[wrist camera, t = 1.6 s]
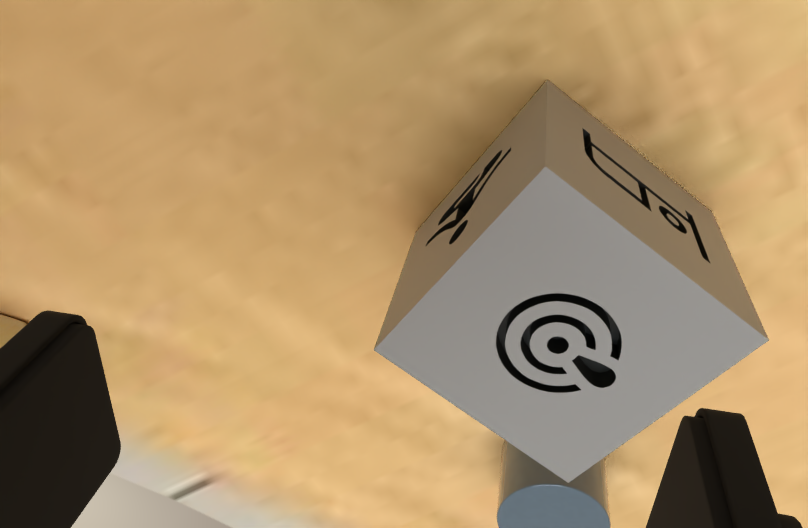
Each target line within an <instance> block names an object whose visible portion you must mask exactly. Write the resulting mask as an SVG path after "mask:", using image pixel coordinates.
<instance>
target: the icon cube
mask: <svg viewBox="0 0 808 528" xmlns="http://www.w3.org/2000/svg"><path fill="white" fill-rule="evenodd" d="M767 341H769V339H768V337H767V335H766V332H765V330H764V328H763V326H762V323H761V321H760V319H759V317H758V314H757V312H756V310H755V308H754V305H753V303H752V301H751V299H750V296H749V294H748V292H747V290H746V287H745V285H744V283H743V281H742V278H741V276H740V274H739V272H738V269H737V267H736V265H735V262H734V260H733V258H732V256H731V253H730V251H729V249H728V247H727V244H726V242H725V240H724V238H723V235H722V233H721V231H720V229H719V226H718V224H717V222H716V220H715V217H714V215H713V213H712V212H711V211H710V210H709V209H707V208H706V207H705V206H704V205H702V204H701V203H700V202H699V201H697V200H696V199H695V198H694V197H692V196H691V195H690V194H689V193H687V192H686V191H685V190H684V189H683V188H681V187H680V186H679V185H678V184H676V183H675V182H674V181H673V180H671V179H670V178H669V177H668V176H666V175H665V174H664V173H663V172H661V171H660V170H659V169H658V168H656V167H655V166H654V165H653V164H652V163H650V162H649V161H648V160H647V159H645V158H644V157H643V156H642V155H640V154H639V153H638V152H637V151H635V150H634V149H633V148H632V147H630V146H629V145H628V144H627V143H625V142H624V141H623V140H622V139H621V138H619V137H618V136H617V135H616V134H614V133H613V132H612V131H611V130H609V129H608V128H607V127H606V126H604V125H603V124H602V123H601V122H599V121H598V120H597V119H596V118H594V117H593V116H592V115H591V114H589V113H588V112H587V111H586V110H585V109H583V108H582V107H581V106H580V105H578V104H577V103H576V102H575V101H573V100H572V99H571V98H570V97H568V96H567V95H566V94H565V93H563V92H562V91H561V90H560V89H558V88H557V87H556V86H555V85H554V84H552V83H551V82H550V81H549V80H546V82H545V83H544V84H543V85H542V86H541V87H540V89H539V90H538V91H537V92H536V93H535V94H534V96H533V97H532V98H531V99H530V100H529V101H528V102H527V104H526V105H525V106H524V107H523V108H522V109H521V111H520V112H519V113H518V114H517V115H516V116H515V118H514V119H513V120H512V121H511V122H510V123H509V125H508V126H507V127H506V128H505V129H504V130H503V131H502V133H501V134H500V135H499V136H498V137H497V138H496V140H495V141H494V142H493V143H492V144H491V145H490V147H489V148H488V149H487V150H486V151H485V152H484V154H483V155H482V156H481V157H480V158H479V159H478V160H477V162H476V163H475V164H474V165H473V166H472V167H471V169H470V170H469V171H468V172H467V173H466V174H465V176H464V177H463V178H462V179H461V180H460V181H459V183H458V184H457V185H456V186H455V187H454V188H453V189H452V191H451V192H450V193H449V194H448V195H447V196H446V198H445V199H444V200H443V201H442V202H441V203H440V205H439V206H438V207H437V208H436V209H435V210H434V212H433V213H432V214H431V215H430V216H429V217H428V218H427V220H426V221H425V222H424V223H423V224H422V225H421V227H420V228H419V229H418V230H417V231H416V233H415V236H414V239H413V241H412V244H411V247H410V250H409V253H408V255H407V258H406V261H405V264H404V267H403V269H402V272H401V275H400V278H399V281H398V283H397V286H396V289H395V292H394V295H393V297H392V300H391V303H390V306H389V308H388V311H387V314H386V317H385V320H384V322H383V325H382V328H381V331H380V334H379V336H378V339H377V342H376V345H375V348H374V351H376V352H377V353H379V354H380V355H382V356H383V357H385V358H386V359H388V360H389V361H391V362H392V363H393V364H395V365H396V366H398V367H399V368H401V369H402V370H404V371H405V372H407V373H408V374H410V375H411V376H412V377H414V378H415V379H417V380H418V381H420V382H421V383H423V384H424V385H426V386H427V387H429V388H430V389H432V390H433V391H434V392H436V393H437V394H439V395H440V396H442V397H443V398H445V399H446V400H448V401H449V402H451V403H452V404H453V405H455V406H456V407H458V408H459V409H461V410H462V411H464V412H465V413H467V414H468V415H470V416H471V417H472V418H474V419H475V420H477V421H478V422H480V423H481V424H483V425H484V426H486V427H487V428H489V429H490V430H492V431H493V432H494V433H496V434H497V435H499V436H500V437H502V438H503V439H505V440H506V441H508V442H509V443H511V444H512V445H513V446H515V447H516V448H518V449H519V450H521V451H522V452H524V453H525V454H527V455H528V456H530V457H531V458H533V459H534V460H535V461H537V462H538V463H540V464H541V465H543V466H544V467H546V468H547V469H549V470H550V471H552V472H553V473H554V474H556V475H557V476H559V477H560V478H562V479H563V480H565V481H566V482H568V483H569V482H570V481H572V480H573V479H575V478H576V477H577V476H579V475H580V474H582V473H583V472H584V471H586V470H587V469H589V468H590V467H591V466H593V465H594V464H596V463H597V462H598V461H600V460H601V459H603V458H604V457H605V456H607V455H608V454H610V453H611V452H613V451H614V450H615V449H617V448H618V447H620V446H621V445H622V444H624V443H625V442H627V441H628V440H629V439H631V438H632V437H634V436H635V435H636V434H638V433H639V432H641V431H642V430H643V429H645V428H646V427H648V426H649V425H650V424H652V423H653V422H655V421H656V420H657V419H659V418H660V417H662V416H663V415H665V414H666V413H667V412H669V411H670V410H672V409H673V408H674V407H676V406H677V405H679V404H680V403H681V402H683V401H684V400H686V399H687V398H688V397H690V396H691V395H693V394H694V393H695V392H697V391H698V390H700V389H701V388H702V387H704V386H705V385H707V384H708V383H709V382H711V381H712V380H714V379H715V378H717V377H718V376H719V375H721V374H722V373H724V372H725V371H726V370H728V369H729V368H731V367H732V366H733V365H735V364H736V363H738V362H739V361H740V360H742V359H743V358H745V357H746V356H747V355H749V354H750V353H752V352H753V351H754V350H756V349H757V348H759V347H760V346H761V345H763V344H764V343H766V342H767Z"/></svg>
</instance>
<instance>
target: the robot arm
mask: <svg viewBox="0 0 808 528" xmlns="http://www.w3.org/2000/svg"><path fill="white" fill-rule="evenodd" d="M120 449H121V444H120V438H119V434H118V430H117V426H116V421H115V417H114V413H113V409H112V404H111V400H110V396H109V391H108V387H107V383H106V379H105V374H104V370H103V366H102V361H101V357H100V353H99V349H98V344H97V340H96V336H95V332H94V330H93V328H92V327H91V326H88V325H87V323H86V321H85V319H84V318H83V317H82V316H79V315H74V314H67V313H60V312H54V311H43V312H41V313H40V314H38V315H37V316H36V317H35V318H33V319H32V320H31V321H30V322H29V323H28V324H27V325H26V326H25V327H23V328H22V329H21V330H20V331H19V332H18V333H17V334H16V335H15V336H13V337H12V338H11V339H10V340H9V341H8V342H7V343H6V344H5V345H4V346H2V347H1V348H0V528H71V527H72V525H73V524H74V522H75V521H76V519H77V518H78V517H79V515H80V514H81V512H82V511H83V510H84V508H85V507H86V505H87V504H88V502H89V501H90V500H91V498H92V497H93V496H94V494H95V493H96V491H97V490H98V488H99V487H100V486H101V484H102V483H103V482H104V480H105V479H106V477H107V476H108V475H109V473H110V472H111V470H112V469H113V468H114V466H115V464H116V463H117V460H118V458H119V454H120ZM646 528H802V526H801V524H800V522H799V521H798V520H797V519H796V518H795V517H793V516H788V515H782V514H778V513H777V510H776V508H775V505H774V502H773V499H772V496H771V493H770V490H769V487H768V484H767V481H766V478H765V475H764V472H763V469H762V466H761V463H760V460H759V457H758V454H757V451H756V448H755V445H754V443H753V440H752V437H751V434H750V431H749V428H748V425H747V422H746V420H745V418H744V416H743V415H742V414H738V413H731V412H725V411H718V410H711V409H705V408H701V409H699V410H698V411H697V413H696V415H695V417H691V416H684V417H683V418H682V421H681V423H680V426H679V429H678V432H677V435H676V438H675V441H674V444H673V447H672V450H671V453H670V456H669V459H668V462H667V465H666V468H665V471H664V474H663V477H662V480H661V483H660V487H659V490H658V493H657V496H656V499H655V502H654V505H653V508H652V511H651V514H650V517H649V520H648V523H647V526H646Z"/></svg>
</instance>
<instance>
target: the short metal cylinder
mask: <svg viewBox="0 0 808 528" xmlns="http://www.w3.org/2000/svg"><path fill="white" fill-rule="evenodd" d="M497 523H498V526H499V528H610V527H611V524H610V513H609V501H608V489H607V478H606V466H605V457H604V458H603V459H601V460H600V461H598V462H597V463H596V464H594V465H593V466H591V467H590V468H589V469H587V470H586V471H584V472H583V473H582V474H580V475H579V476H577V477H576V478H575V479H573V480H572V481H570V482H569V483H568V482H566V481H565V480H563V479H562V478H560V477H559V476H557V475H556V474H554V473H553V472H552V471H550V470H549V469H547V468H546V467H544V466H543V465H541V464H540V463H538V462H537V461H535V460H534V459H533V458H531V457H530V456H528V455H527V454H525V453H524V452H522V451H521V450H519V449H518V448H516V447H515V446H513V445H512V444H511V443H509V442H508V441H505V443H504V445H503V450H502V461H501V473H500V485H499V496H498V508H497Z"/></svg>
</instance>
